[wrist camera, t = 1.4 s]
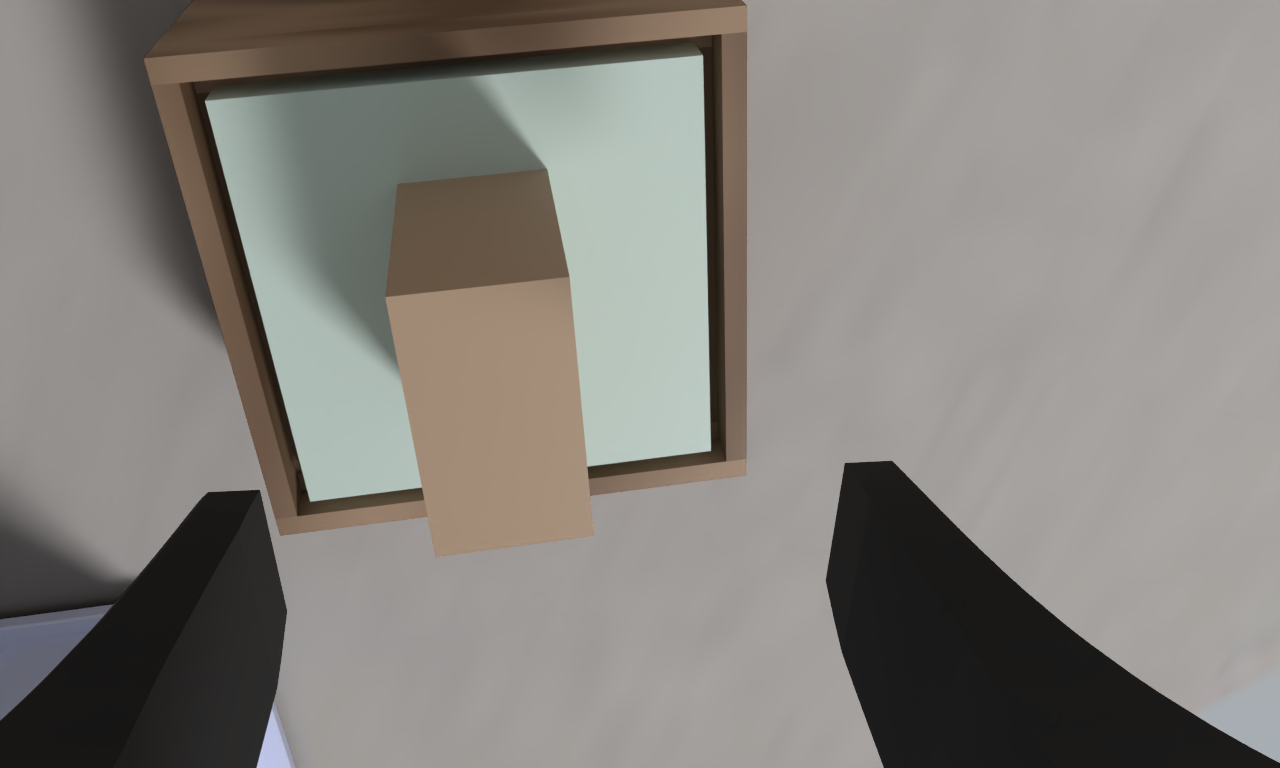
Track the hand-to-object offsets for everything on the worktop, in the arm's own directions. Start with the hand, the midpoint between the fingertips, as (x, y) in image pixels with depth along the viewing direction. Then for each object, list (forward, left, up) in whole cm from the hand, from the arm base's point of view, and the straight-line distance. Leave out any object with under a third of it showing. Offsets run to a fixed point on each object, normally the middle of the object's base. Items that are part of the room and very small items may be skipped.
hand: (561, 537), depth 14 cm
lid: (-1, 0, -7) cm, 7 cm away
